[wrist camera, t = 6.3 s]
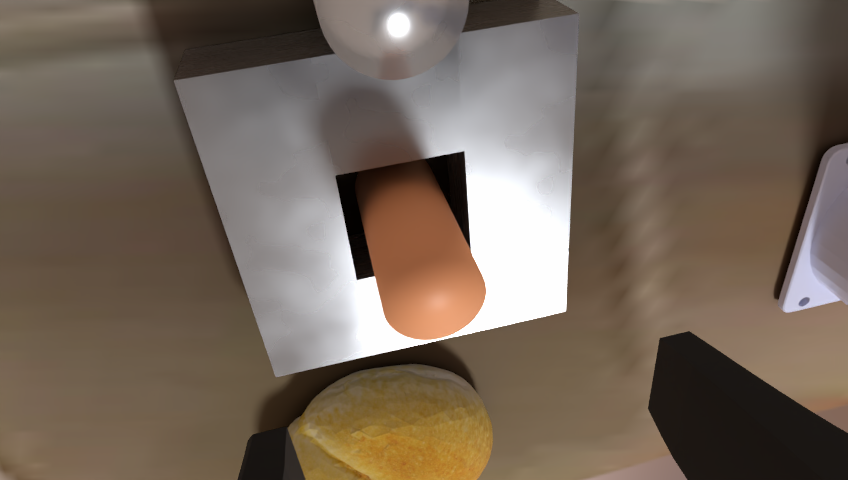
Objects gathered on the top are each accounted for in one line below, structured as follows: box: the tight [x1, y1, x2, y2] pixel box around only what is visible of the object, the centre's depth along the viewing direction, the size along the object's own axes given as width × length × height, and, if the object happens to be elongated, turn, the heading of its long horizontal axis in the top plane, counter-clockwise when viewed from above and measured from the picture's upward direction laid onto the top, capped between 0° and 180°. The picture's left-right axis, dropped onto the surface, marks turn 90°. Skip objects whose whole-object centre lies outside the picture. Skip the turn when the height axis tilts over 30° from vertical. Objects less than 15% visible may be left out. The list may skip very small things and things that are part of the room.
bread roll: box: [288, 364, 493, 480], centre depth 25 cm, size 8×9×4 cm
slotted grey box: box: [174, 0, 579, 377], centre depth 17 cm, size 10×13×5 cm
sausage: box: [355, 159, 486, 340], centre depth 17 cm, size 3×3×6 cm
